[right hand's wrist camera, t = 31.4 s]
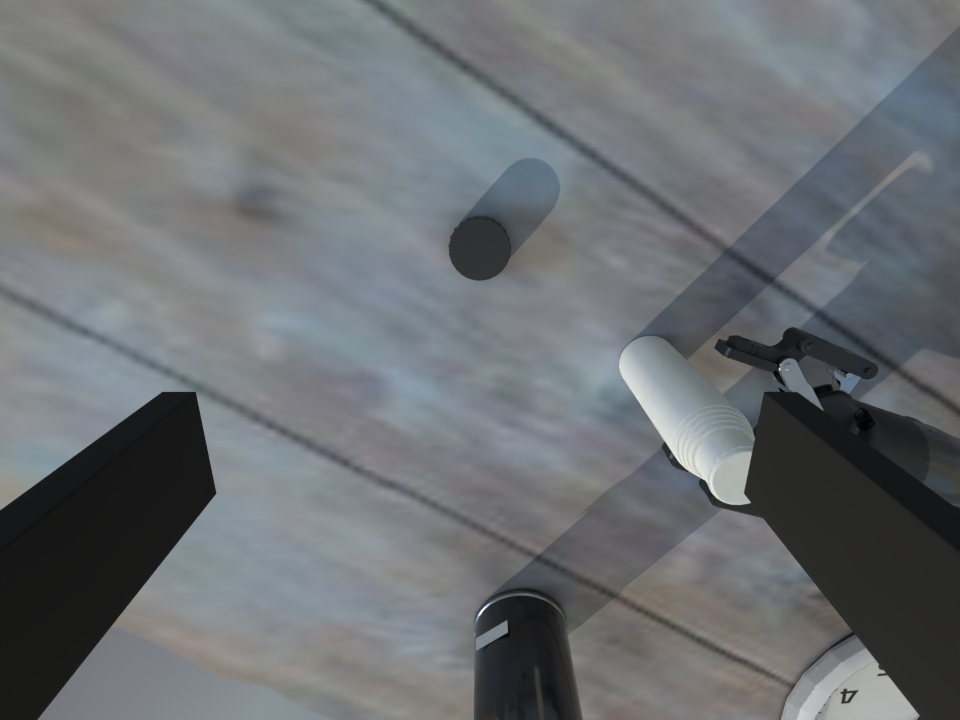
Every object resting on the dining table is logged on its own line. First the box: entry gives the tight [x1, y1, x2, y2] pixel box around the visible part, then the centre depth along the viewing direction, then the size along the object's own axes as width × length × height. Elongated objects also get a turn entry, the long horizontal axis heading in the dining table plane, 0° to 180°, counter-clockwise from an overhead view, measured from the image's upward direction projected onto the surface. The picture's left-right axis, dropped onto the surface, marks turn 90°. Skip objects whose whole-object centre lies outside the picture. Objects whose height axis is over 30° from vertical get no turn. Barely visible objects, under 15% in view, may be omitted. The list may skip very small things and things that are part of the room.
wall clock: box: [781, 635, 923, 720], centre depth 58 cm, size 30×2×30 cm
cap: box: [449, 216, 511, 280], centre depth 41 cm, size 5×5×2 cm
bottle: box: [619, 336, 755, 505], centre depth 37 cm, size 5×5×18 cm
